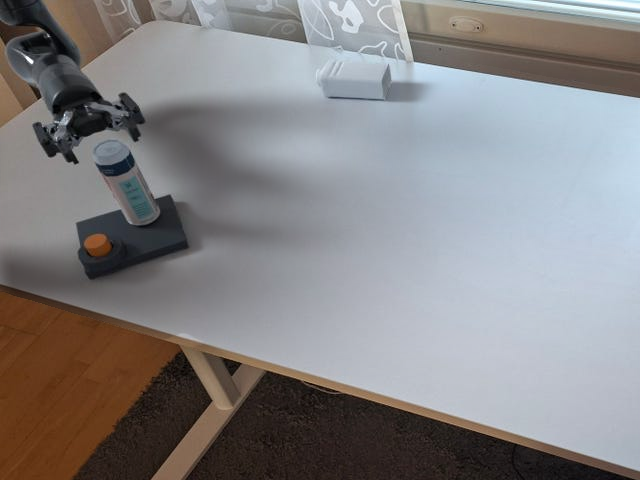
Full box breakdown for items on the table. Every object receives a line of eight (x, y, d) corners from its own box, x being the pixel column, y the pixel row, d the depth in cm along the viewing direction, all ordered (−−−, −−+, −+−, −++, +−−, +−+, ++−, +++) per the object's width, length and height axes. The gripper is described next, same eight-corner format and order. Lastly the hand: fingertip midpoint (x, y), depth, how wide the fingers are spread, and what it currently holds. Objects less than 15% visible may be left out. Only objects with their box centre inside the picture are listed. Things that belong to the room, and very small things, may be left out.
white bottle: (325, 79, 127) (320, 57, 123) (392, 82, 125) (389, 60, 122) (315, 98, 123) (309, 76, 119) (384, 102, 121) (380, 79, 118)
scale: (90, 283, 95) (79, 268, 92) (80, 229, 102) (70, 214, 100) (190, 251, 98) (183, 235, 96) (173, 201, 106) (166, 185, 103)
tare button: (91, 260, 94) (85, 250, 93) (88, 247, 96) (82, 237, 94) (113, 253, 95) (107, 243, 93) (110, 240, 96) (104, 231, 95)
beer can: (141, 204, 103) (105, 135, 94) (168, 210, 102) (133, 141, 93) (121, 224, 100) (81, 155, 91) (148, 230, 99) (110, 161, 90)
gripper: (9, 91, 98) (38, 142, 90) (107, 59, 103) (143, 105, 95) (37, 136, 104) (66, 188, 96) (128, 104, 109) (164, 151, 101)
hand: (104, 147), depth 95 cm, fingers open, 8 cm apart
